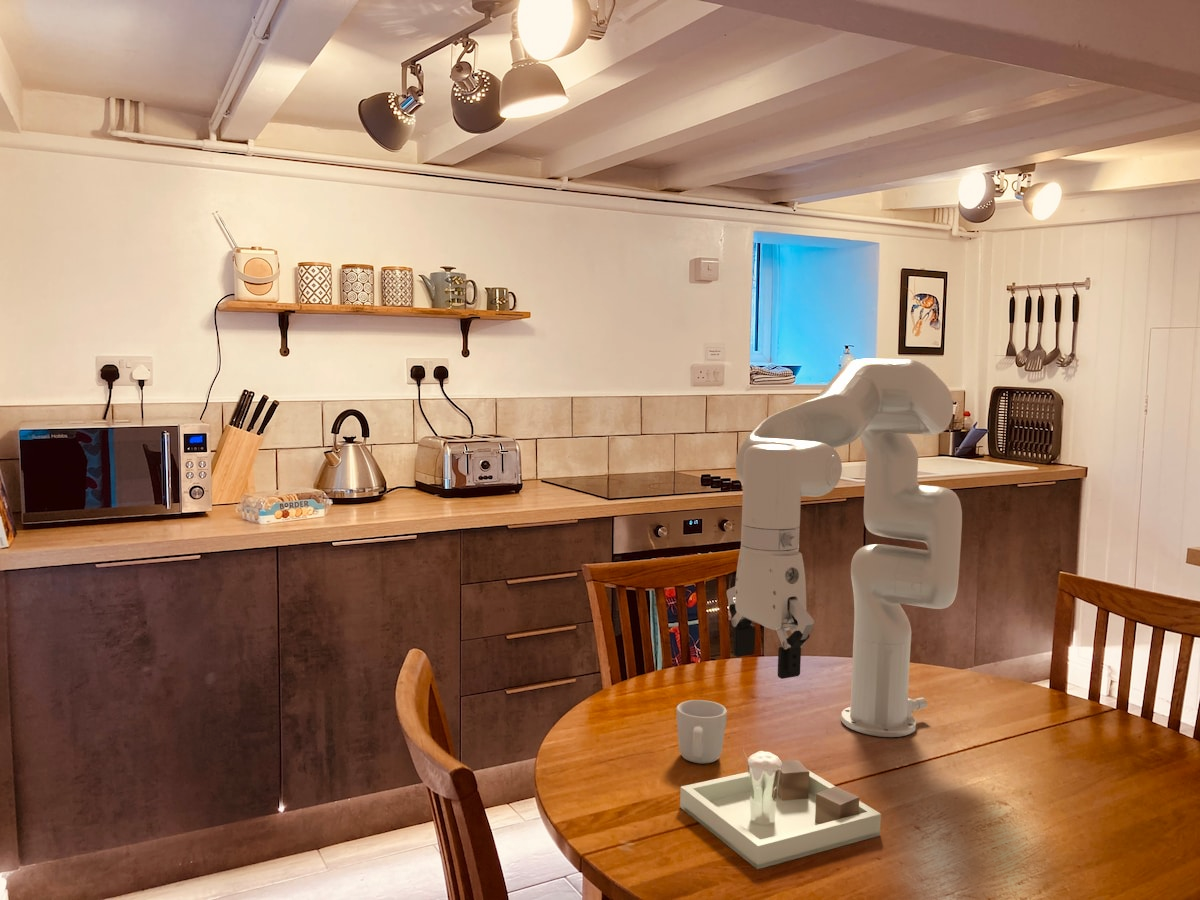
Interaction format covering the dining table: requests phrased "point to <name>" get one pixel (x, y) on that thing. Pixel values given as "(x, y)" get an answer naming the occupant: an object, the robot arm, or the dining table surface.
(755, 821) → the milkshake
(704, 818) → the tray
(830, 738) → the dining table surface
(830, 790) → the walnut block
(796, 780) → the walnut block
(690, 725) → the cup
